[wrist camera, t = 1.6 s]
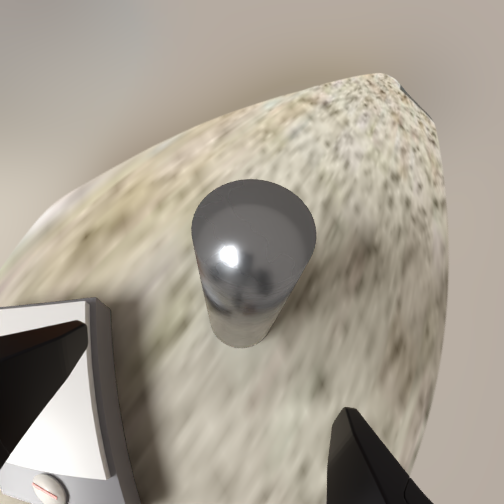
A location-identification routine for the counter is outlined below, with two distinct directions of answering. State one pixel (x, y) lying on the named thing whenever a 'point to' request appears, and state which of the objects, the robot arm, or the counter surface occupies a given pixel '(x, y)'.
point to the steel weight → (250, 255)
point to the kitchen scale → (72, 419)
